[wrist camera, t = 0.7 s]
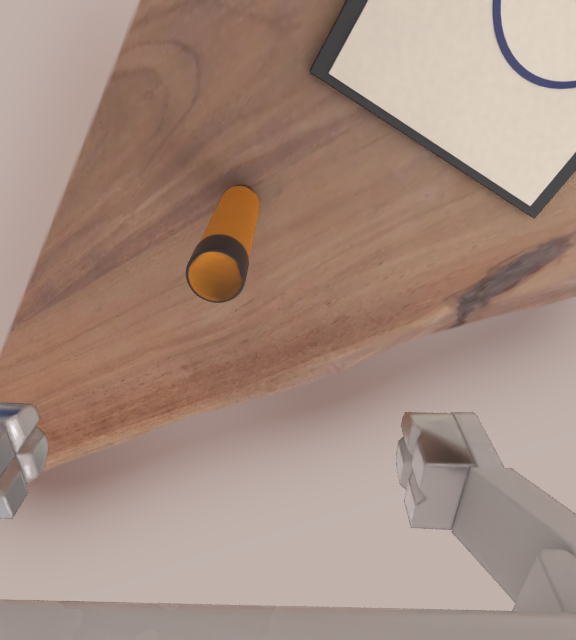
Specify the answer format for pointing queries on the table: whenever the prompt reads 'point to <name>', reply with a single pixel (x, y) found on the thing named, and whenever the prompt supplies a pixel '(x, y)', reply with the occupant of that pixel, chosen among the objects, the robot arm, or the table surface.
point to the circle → (538, 39)
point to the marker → (225, 247)
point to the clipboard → (454, 93)
